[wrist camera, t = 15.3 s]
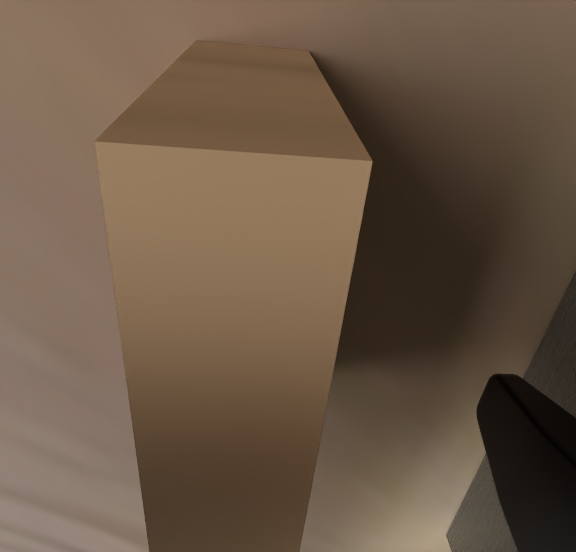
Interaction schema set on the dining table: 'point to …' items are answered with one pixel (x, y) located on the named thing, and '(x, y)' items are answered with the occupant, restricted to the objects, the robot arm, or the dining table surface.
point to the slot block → (482, 493)
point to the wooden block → (231, 287)
